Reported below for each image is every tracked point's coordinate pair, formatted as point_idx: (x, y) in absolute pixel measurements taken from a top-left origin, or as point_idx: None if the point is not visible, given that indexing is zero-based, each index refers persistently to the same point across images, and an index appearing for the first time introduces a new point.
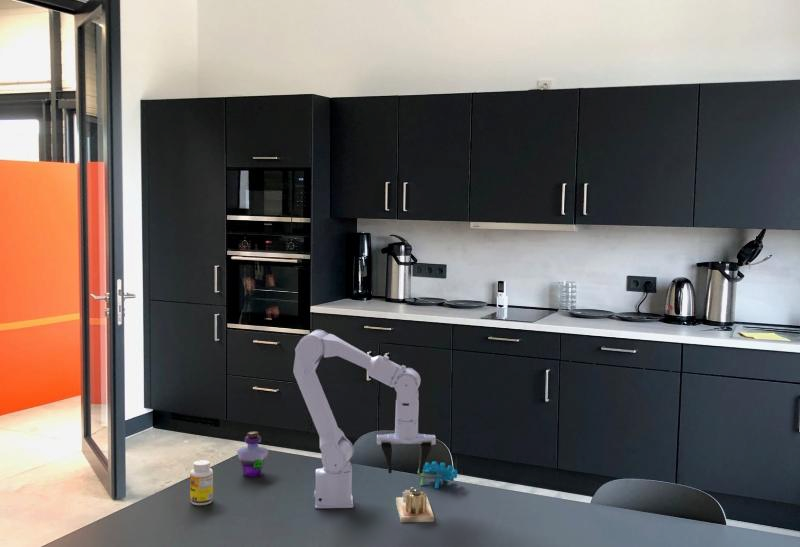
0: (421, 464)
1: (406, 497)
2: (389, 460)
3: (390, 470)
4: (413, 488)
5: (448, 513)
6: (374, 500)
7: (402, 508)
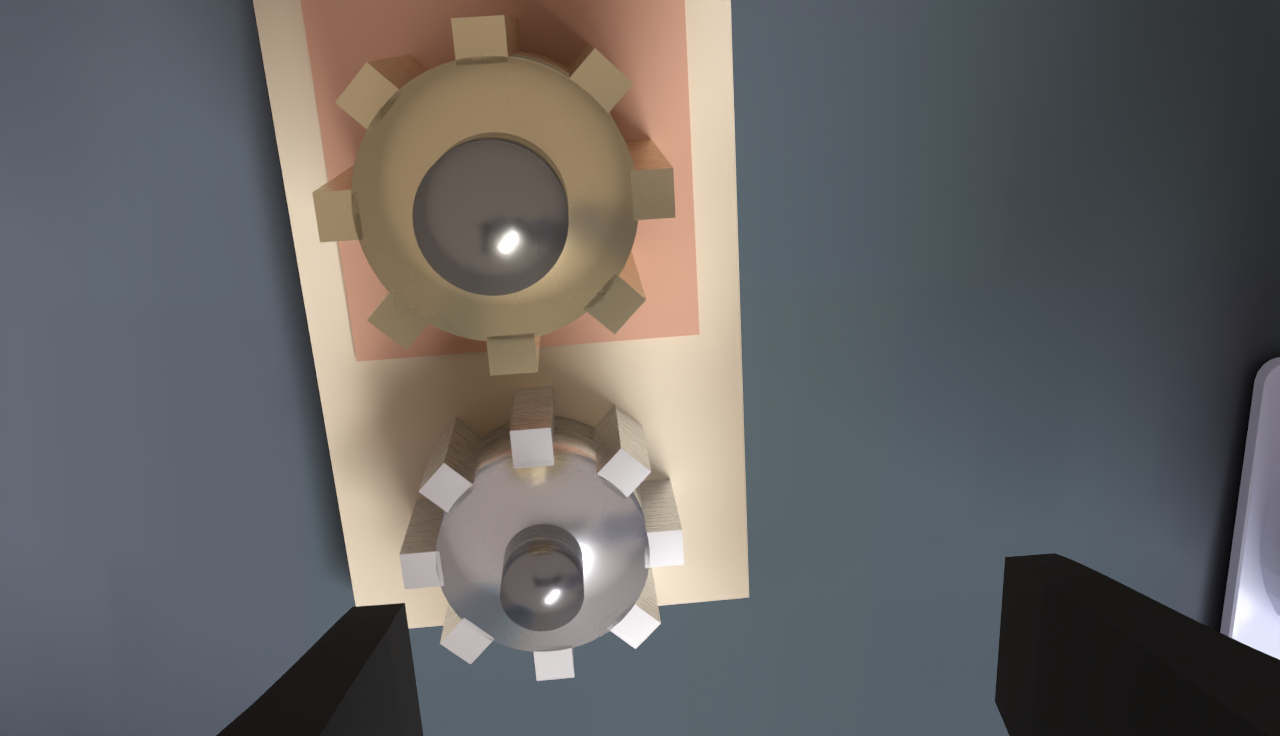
0: (319, 700)
1: (663, 160)
2: (1253, 683)
3: (1062, 572)
4: (534, 567)
5: (79, 250)
6: (977, 599)
7: (690, 234)
